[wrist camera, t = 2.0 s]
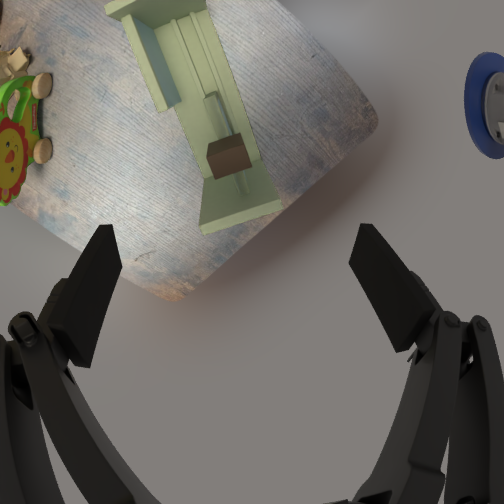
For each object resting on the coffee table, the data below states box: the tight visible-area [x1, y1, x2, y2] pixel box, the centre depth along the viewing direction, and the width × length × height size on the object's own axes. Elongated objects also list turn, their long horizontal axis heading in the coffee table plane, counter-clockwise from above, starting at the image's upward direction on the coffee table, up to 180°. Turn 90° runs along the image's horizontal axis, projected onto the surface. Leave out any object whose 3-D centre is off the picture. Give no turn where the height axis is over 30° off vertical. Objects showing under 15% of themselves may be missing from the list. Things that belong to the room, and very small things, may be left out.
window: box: [203, 91, 252, 196], centre depth 26 cm, size 3×10×15 cm, turn 17°
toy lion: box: [0, 73, 52, 206], centre depth 22 cm, size 16×6×15 cm, turn 170°
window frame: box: [104, 0, 283, 236], centre depth 25 cm, size 8×24×14 cm, turn 18°
